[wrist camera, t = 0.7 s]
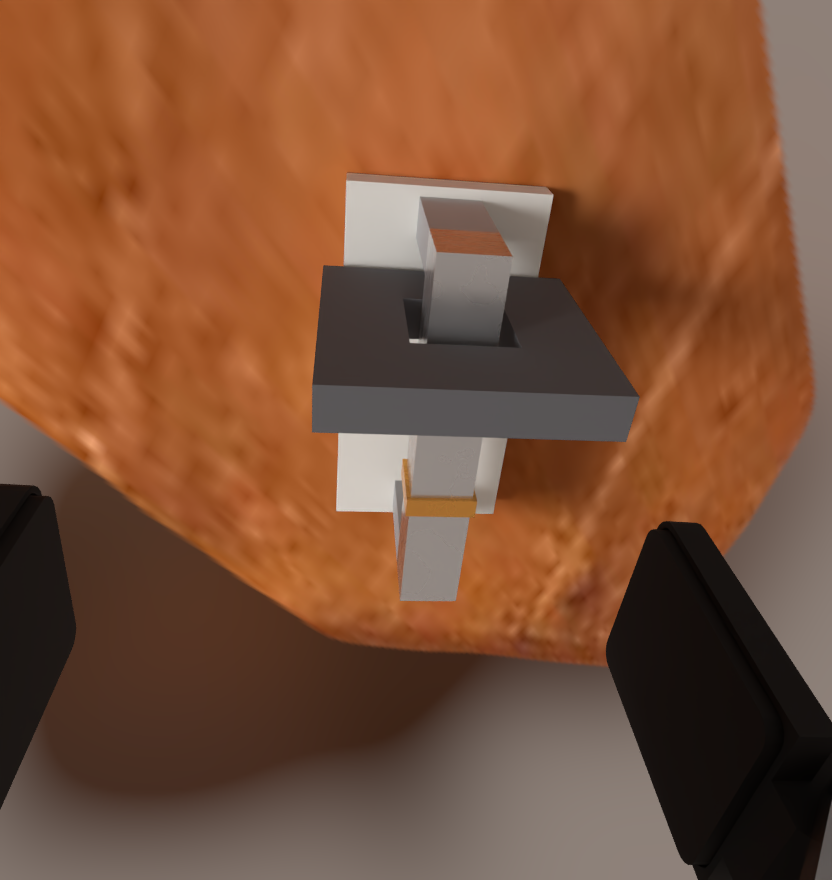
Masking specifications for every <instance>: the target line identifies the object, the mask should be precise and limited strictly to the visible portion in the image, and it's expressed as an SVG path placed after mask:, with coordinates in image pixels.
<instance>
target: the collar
mask: <svg viewBox="0 0 832 880" xmlns="http://www.w3.org/2000/svg"><path fill="white" fill-rule="evenodd" d="M424 278H425V273H424V271H414V270H396V269H378V268H361V267H343V266H325V265H324V266H323V276H322V287H321V298H320V309H319V319H318V330H317V341H316V352H315V363H314V373H313V384H312V432H319V433H352V434H385V435H418V436H451V437H484V438H518V439H551V440H584V441H617V442H626V440H627V437H628V434H629V430H630V427H631V424H632V421H633V417H634V414H635V411H636V407H637V404H638V401H639V395H638V394H637V392H636V391H635V389H634V388H633V386H632V385H631V383H630V382H629V381H628V379H627V378H626V376H625V375H624V373H623V372H622V370H621V369H620V367H619V366H618V364H617V363H616V361H615V360H614V358H613V357H612V355H611V354H610V352H609V351H608V349H607V348H606V346H605V345H604V344H603V342H602V341H601V339H600V338H599V336H598V335H597V333H596V332H595V330H594V329H593V327H592V326H591V324H590V323H589V321H588V320H587V318H586V317H585V315H584V314H583V312H582V311H581V310H580V308H579V307H578V305H577V304H576V302H575V301H574V299H573V298H572V296H571V295H570V293H569V292H568V290H567V289H566V287H565V286H564V284H563V283H562V281H561V280H560V279H555V278H537V277H520V276H510V277H509V283H508V289H507V295H506V301H505V307H504V313H503V319H502V325H501V331H500V337H499V343H498V347H489V346H467V345H445V344H422V343H410V341H409V339H419V329H420V319H421V309H422V298H423V288H424Z"/></svg>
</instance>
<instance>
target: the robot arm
mask: <svg viewBox="0 0 832 880" xmlns="http://www.w3.org/2000/svg"><path fill="white" fill-rule="evenodd" d="M75 634H76V623H75V617H74V611H73V607H72V600H71V595H70V590H69V584H68V578H67V573H66V567H65V562H64V556H63V551H62V545H61V540H60V535H59V529H58V523H57V518H56V513H55V507H54V503H53V500H52V499H51V497H49V496H42V495H41V491H40V490H39V488H38V487H36V486H30V485H11V484H0V809H1V807H2V804H3V802H4V800H5V797H6V796H7V793H8V791H9V789H10V787H11V784H12V782H13V780H14V778H15V775H16V773H17V771H18V768H19V766H20V764H21V762H22V760H23V757H24V755H25V753H26V751H27V748H28V746H29V744H30V742H31V740H32V737H33V735H34V733H35V730H36V728H37V726H38V724H39V721H40V719H41V717H42V715H43V712H44V710H45V708H46V706H47V703H48V701H49V699H50V697H51V695H52V692H53V690H54V688H55V686H56V683H57V681H58V679H59V677H60V675H61V672H62V670H63V668H64V665H65V663H66V661H67V659H68V657H69V654H70V652H71V650H72V647H73V644H74V640H75ZM606 658H607V663H608V666H609V669H610V672H611V674H612V677H613V680H614V682H615V685H616V687H617V690H618V693H619V696H620V698H621V701H622V704H623V706H624V709H625V712H626V714H627V717H628V719H629V722H630V725H631V727H632V730H633V733H634V736H635V738H636V741H637V743H638V746H639V749H640V751H641V754H642V757H643V759H644V762H645V765H646V767H647V770H648V773H649V775H650V778H651V781H652V783H653V786H654V789H655V791H656V794H657V797H658V799H659V802H660V805H661V807H662V810H663V813H664V815H665V818H666V820H667V823H668V826H669V829H670V831H671V834H672V837H673V839H674V842H675V844H676V847H677V850H678V852H679V854H680V857H681V858H682V860H683V861H684V862H685V863H686V864H688V865H693V868H694V870H695V873H696V876H697V878H698V880H832V722H831V720H830V719H829V717H828V716H827V714H826V713H825V711H824V710H823V708H822V707H821V705H820V703H819V702H818V700H817V699H816V697H815V696H814V695H813V693H812V691H811V690H810V688H809V687H808V685H807V684H806V682H805V681H804V679H803V678H802V676H801V675H800V673H799V672H798V670H797V669H796V667H795V666H794V664H793V662H792V661H791V659H790V658H789V656H788V655H787V653H786V652H785V650H784V649H783V647H782V646H781V644H780V643H779V641H778V640H777V638H776V637H775V635H774V634H773V632H772V631H771V629H770V627H769V626H768V625H767V623H766V621H765V620H764V618H763V617H762V615H761V614H760V612H759V611H758V609H757V608H756V606H755V605H754V603H753V602H752V600H751V599H750V597H749V596H748V594H747V593H746V591H745V590H744V588H743V587H742V585H741V583H740V582H739V580H738V579H737V577H736V576H735V574H734V573H733V571H732V570H731V568H730V567H729V565H728V564H727V562H726V561H725V559H724V558H723V556H722V555H721V553H720V551H719V550H718V548H717V547H716V545H715V544H714V542H713V541H712V539H711V538H710V536H709V535H708V533H707V532H706V530H705V529H704V528H703V526H702V525H701V524H698V523H689V522H671V521H665V522H662V523H661V524H660V525H659V526H658V528H657V529H653V530H651V531H650V532H649V533H648V535H647V537H646V539H645V542H644V545H643V547H642V550H641V553H640V555H639V558H638V561H637V563H636V566H635V569H634V571H633V574H632V577H631V579H630V582H629V585H628V587H627V590H626V593H625V595H624V598H623V601H622V603H621V606H620V609H619V611H618V614H617V617H616V619H615V622H614V625H613V627H612V630H611V633H610V635H609V638H608V641H607V645H606Z"/></svg>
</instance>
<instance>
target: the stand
mask: <svg viewBox="0 0 832 880" xmlns="http://www.w3.org/2000/svg"><path fill="white" fill-rule="evenodd" d="M552 201H553V194H552V193H551V192H550V190H549V189H548V188H547V187H539V186H525V185H511V184H497V183H483V182H470V181H456V180H442V179H428V178H414V177H400V176H386V175H372V174H358V173H347V179H346V211H345V244H344V267H361V268H378V269H396V270H414V271H424V273H425V267H426V257H427V247H428V237H429V228H434V229H450V230H465V231H481V232H497V233H500V235H501V236H502V238H503V240H504V242H505V243H506V245H507V247H508V249H509V251H510V252H511V254H512V256H513V259H512V265H511V271H510V276H520V277H537V278H538V274H539V269H540V264H541V259H542V253H543V248H544V243H545V237H546V232H547V227H548V222H549V216H550V211H551V206H552ZM418 340H419V339H409V341H410V343H418ZM408 443H409V435H385V434H352V433H339V439H338V471H337V505H336V511H365V512H393V517H394V530H395V543H396V555H397V556H398V546H399V535H400V525H401V515H402V505H403V488H402V478H401V471H402V460H403V459H407V453H408ZM506 443H507V438H484V437H483V439H482V445H481V451H480V457H479V463H478V469H477V475H476V481H475V487H474V490H475V494H476V498H477V506H476V512H475V513H478V514H493V512H494V506H495V501H496V496H497V491H498V485H499V480H500V475H501V469H502V464H503V459H504V454H505V448H506Z"/></svg>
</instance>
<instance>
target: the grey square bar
mask: <svg viewBox="0 0 832 880" xmlns="http://www.w3.org/2000/svg"><path fill="white" fill-rule="evenodd" d="M512 259H513V256H512V254H511V252H510V251H509V249H508V247H507V245H506V243H505V242H504V240H503V238H502V236H501V235H500V233H497V232H481V231H465V230H450V229H434V228H429V237H428V247H427V257H426V267H425V278H424V288H423V298H422V309H421V319H420V329H419V340H418V343H422V344H445V345H467V346H489V347H498V343H499V337H500V331H501V325H502V319H503V313H504V307H505V301H506V295H507V289H508V283H509V277H510V271H511V265H512ZM482 439H483V437H451V436H418V435H409V443H408V453H407V459H403V460H402V471H401V478H402V488H403V505H402V515H401V525H400V535H399V546H398V556H397V568H398V581H399V594H400V601H456V596H457V590H458V584H459V577H460V571H461V565H462V559H463V553H464V547H465V541H466V535H467V529H468V523H469V517H473V518H475V512H476V506H477V498H476V494H475V490H474V487H475V481H476V475H477V469H478V463H479V457H480V451H481V445H482Z"/></svg>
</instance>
